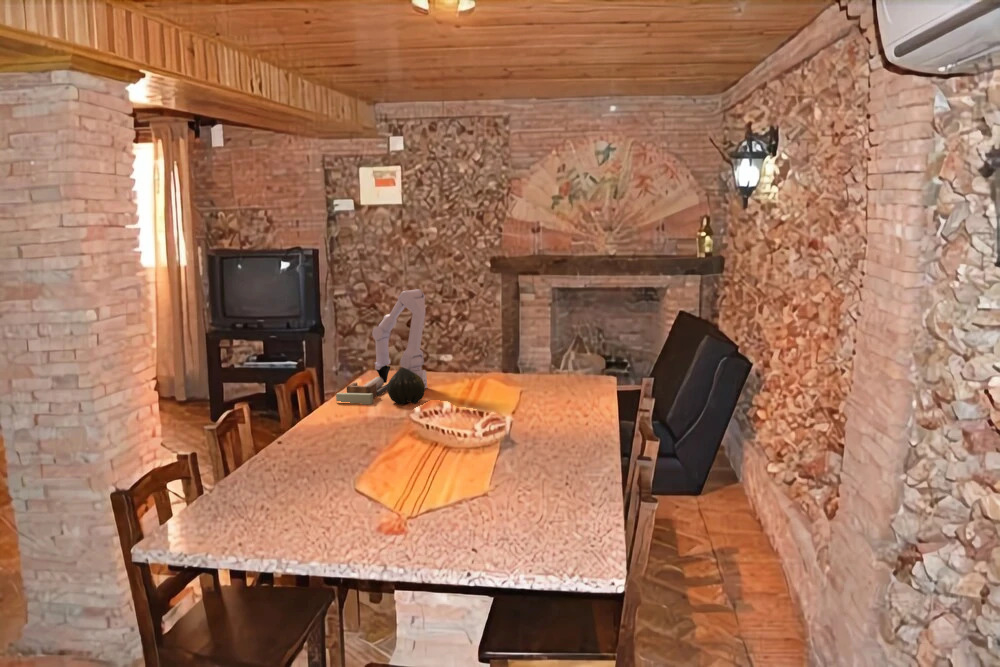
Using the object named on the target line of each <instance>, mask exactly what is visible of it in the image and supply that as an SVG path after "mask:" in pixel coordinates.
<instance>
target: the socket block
mask: <svg viewBox="0 0 1000 667" xmlns="http://www.w3.org/2000/svg"><path fill="white" fill-rule="evenodd" d="M377 390H378V389H377ZM377 390H376V383H372V384H370V385H368V386H364V385H358V382H352V383H351V384H349V385H348V386H346V393H373V400H374V399H376V398H377V397H378V396H377ZM375 397H376V398H375Z"/></svg>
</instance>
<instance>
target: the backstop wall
mask: <svg viewBox="0 0 1000 667" xmlns="http://www.w3.org/2000/svg"><path fill="white" fill-rule="evenodd" d="M335 396H336V397H335V401H341V402H350V403H362V404H361V405H372V404H374V399H373V393H347V392H337V393H336V394H335Z"/></svg>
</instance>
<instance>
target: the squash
mask: <svg viewBox="0 0 1000 667" xmlns="http://www.w3.org/2000/svg"><path fill="white" fill-rule="evenodd" d="M387 384H388V391H387V394H388V396H389V398H390V400H391V401H392V402H394V403H395V404H397V405H402V404H405V403H407V402H408V403H411V404H418V403H419V402H420V401H421V400H422V399H423V398H424V397H425V396H424V395H425V391H426V389H425V385H424V382H423V380H422V379H421V377H420V376H418V375H417V374H415V373H414V372H412V371H410V370H408V369H406V368H403V367H401V368H399V369H398V370H397V371H396V372H395V373H394V374H393V375H392V376H391V378H390V379H389V381H388V383H387Z"/></svg>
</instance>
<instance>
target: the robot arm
mask: <svg viewBox="0 0 1000 667" xmlns="http://www.w3.org/2000/svg"><path fill="white" fill-rule="evenodd" d="M425 301H426V295H425V293H424V292H423V291H422V290H421V288H416V289H410V290H403V291H401V292H400V294H399V295H398V296H397V301H396V303H395V304H394V307H393V308H392V309H391V312H390V313H387V314H385V315H384V316H383V319H382V321H381V322H380V323H378V325H377V326H375V327H374V328H373V329H372V332H371V335H372V337H373V339H374V340H375V354H376V355H375V357H376V358H375V359H376V360H375V361H376V362H374V363H373V365H375V366H374V367H375V368H374V369H375V370H376V372H377V374H378V377H381V378H382V379H383V380H384V384H387V382H388V376H389V371H390V369H391V366H390V365H391V362H392V361H391V359H390V352H389V350H390V349H389V343H390V337H391V335H392V332H391V331H392V330H393V329H394V327H395V326H396V325H397V322H398V319H397V318H398V317H399V316H400V314H401V313H402V312H403V311H404V310H405V308H406V309H407V310H408V311H410V312H411V315H412V316H411V322H410V327H409V328H410V329H409V334H408V339H407V340H408V342H407V346H406V349H405V350H404V351H402V352H403V353H402V356H401V358H400V360H399V363H400V364H399V365H400V367H401V368H402V367H403V368H406V369H408V370H410V371H412V372H414V373H415V374H417V375H418V376H420V377H421V379H422V380H423V382H424V385H425V388H426V389H427V388H428V387H429V386H428V378H427V377H428V376H427V370H425V369H422V366H423V365H424V362H425V360H424V351H423V350H421V345H422V339H423V338H422V337H423V330H424V325H425V317H426V305H425V304H426V303H425Z"/></svg>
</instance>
